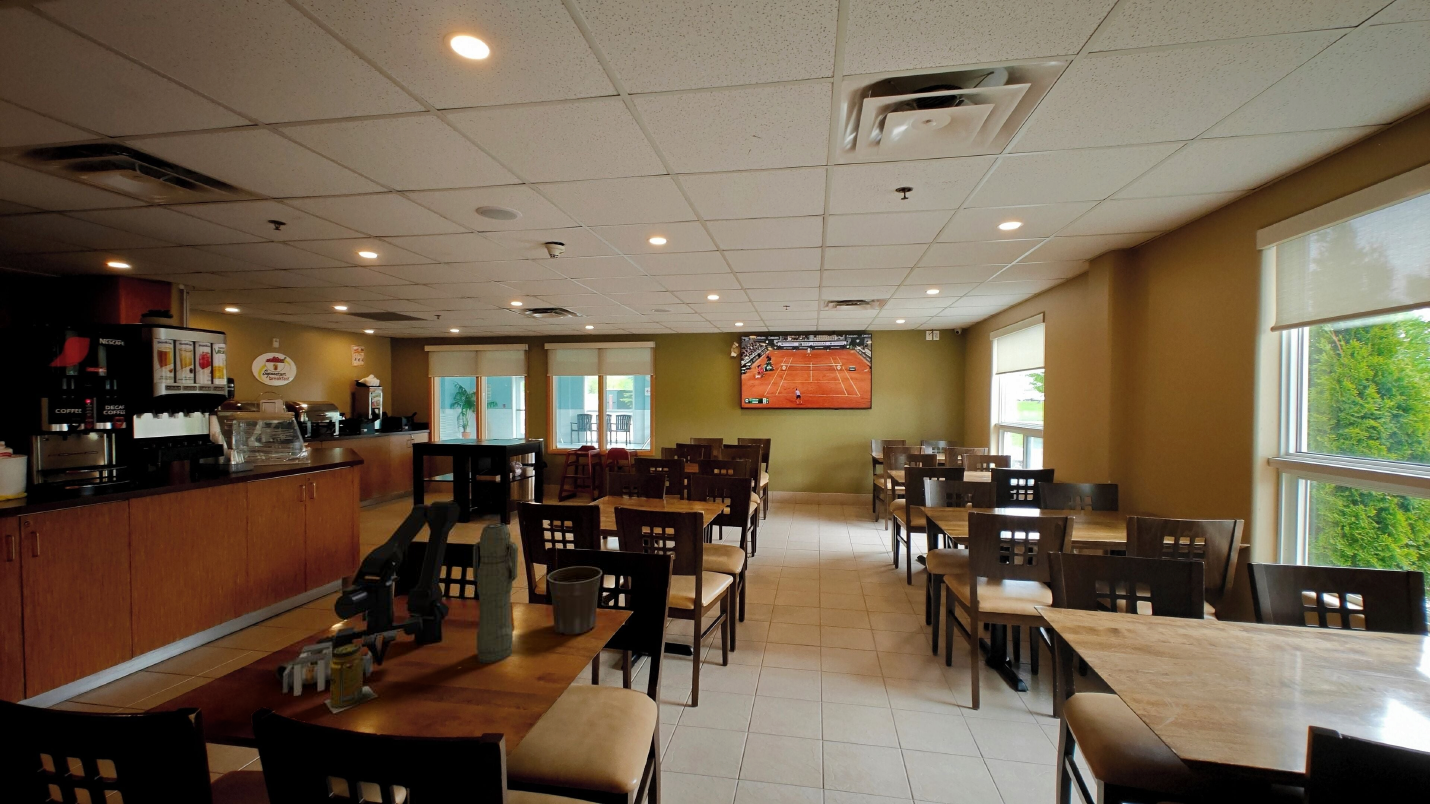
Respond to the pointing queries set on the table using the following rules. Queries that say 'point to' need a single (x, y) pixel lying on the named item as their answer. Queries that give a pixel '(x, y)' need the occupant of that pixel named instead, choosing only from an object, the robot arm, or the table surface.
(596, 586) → the plant pot
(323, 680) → the grey staple-shaped bracket
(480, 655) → the grey stone statue
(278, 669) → the dark piece
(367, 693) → the condiment
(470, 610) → the table surface
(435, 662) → the table surface
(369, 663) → the air tube
